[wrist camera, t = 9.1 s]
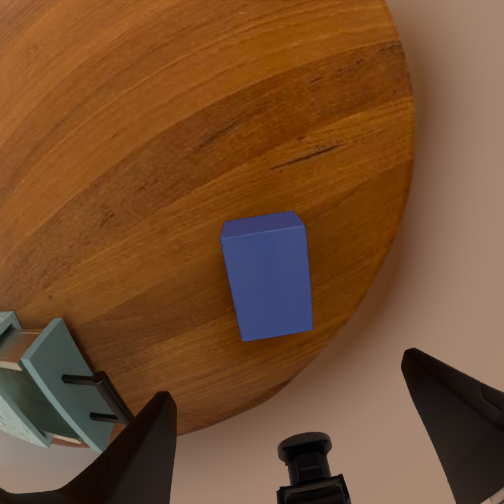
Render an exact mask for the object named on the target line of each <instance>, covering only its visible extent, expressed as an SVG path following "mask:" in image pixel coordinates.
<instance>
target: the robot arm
mask: <svg viewBox="0 0 504 504" xmlns="http://www.w3.org/2000/svg"><path fill="white" fill-rule="evenodd" d="M401 370H402V372H403V375H404V378H405V381H406V383H407V386H408V389H409V392H410V395H411V398H412V400H413V402H414V405H415V407H416V409H417V411H418V413H419V415H420V417H421V419H422V421H423V424H424V426H425V428H426V430H427V432H428V435H429V437H430V439H431V441H432V443H433V446H434V448H435V450H436V453H437V455H438V457H439V460H440V462H441V465H442V467H443V469H444V472H445V475H446V477H447V480H448V483H449V485H450V488H451V490H452V493H453V496H454V499H455V501H456V504H481V503H482V502H484V501H485V500H487V499H488V498H489V499H490V501H491V503H492V504H504V392H502V391H499V390H497V389H494V388H492V387H490V386H488V385H486V384H484V383H482V382H480V381H478V380H476V379H474V378H472V377H470V376H468V375H467V374H465V373H463V372H460V371H459V370H457V369H455V368H453V367H451V366H449V365H447V364H445V363H443V362H441V361H439V360H437V359H436V358H434V357H432V356H430V355H428V354H426V353H424V352H422V351H420V350H418V349H416V348H410V349H407V350H405V352H404V355H403V359H402V363H401ZM176 433H177V407H176V404H175V402H174V400H173V398H172V396H171V394H170V393H169V392H168V391H159V392H157V393H156V394H155V395H154V397H153V398H152V399H151V400H150V401H149V402H148V403H147V404H146V406H145V407H144V408H143V409H142V410H141V411H140V412H139V413H138V414H137V415H136V417H135V418H134V419H133V420H132V421H131V422H130V423H129V424H128V425H127V426H126V428H125V429H124V430H123V431H122V432H121V433H120V434H119V435H118V436H117V437H116V438H115V440H114V441H113V442H112V443H111V444H110V445H109V446H108V447H107V448H106V450H104V451H103V452H102V453H101V455H100V456H99V457H98V458H97V459H96V460H95V461H94V462H93V463H92V464H90V465H89V466H88V467H87V468H86V469H85V470H84V471H82V472H81V473H80V474H79V475H78V476H76V477H75V478H74V479H73V480H72V481H70V482H69V483H68V484H67V485H65V486H63V487H62V488H60V489H57V490H53V491H45V492H36V493H22V494H14V493H9V492H6V491H5V490H3V489H2V488H0V504H169V501H170V492H171V482H172V474H173V465H174V458H175V450H176ZM282 451H283V456H284V461H285V466H288V471H289V478H290V485H291V486H285V487H284V486H282V487H280V489H279V490H278V491H277V504H351V500H350V496H349V493H348V490H347V487H346V484H345V481H344V478H343V475H342V474H339V475H338V476H333V477H331V473H330V469H329V464H328V461H327V452H328V440H327V439H325V440H320V441H315V442H310V443H305V444H300V445H294V446H288V447H284V448H282Z"/></svg>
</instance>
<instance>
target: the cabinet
mask: <svg viewBox="0 0 504 504" xmlns="http://www.w3.org/2000/svg"><path fill="white" fill-rule="evenodd" d="M6 329H22V327H21V325H20V323H19V321H18V319H17V317H16V315H15V313H14V311H8V312H0V335H1V334H2V333H3V332H4V331H5V330H6ZM0 429H1V430H2V431H5V432H7V433H9V434H11V435H14V436H16V437H18V438H21V439H23V440H26V441H28V442H31V443H34V444H36V445H39V446H42V447H44V448H47V449H49V447H50V445H51V443H52V441H53V438H54V437H52V436H48V435H45V434H42V433H40V432H39V431H38V430H37V429H36V428H35V427H34V425H33V424H32V423H31V422H30V421H29V420H28V419H27V418H26V416H25V415H24V414H23V413H22V412H21V410H20V409H19V408H18V407H17V406H16V404H15V403H14V402H13V401H12V399H11V398H10V397H9V395H8V394H7V393H6V391H5V390H4V389H3V387H2V386H1V384H0Z"/></svg>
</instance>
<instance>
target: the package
mask: <svg viewBox="0 0 504 504" xmlns="http://www.w3.org/2000/svg"><path fill="white" fill-rule="evenodd" d="M220 241H221V246H222V251H223V256H224V260H225V265H226V270H227V275H228V279H229V284H230V289H231V293H232V298H233V302H234V307H235V311H236V316H237V320H238V325H239V329H240V333H241V338H242V341H251V340H258V339H265V338H271V337H277V336H283V335H289V334H294V333H300V332H305V331H310V330H313V317H312V300H311V285H310V272H309V260H308V248H307V238H306V228H305V225H304V223H303V222H302V221H301V220H300V219H299V217H298V216H297V215H296V214H295V213H294V211H289V212H282V213H275V214H269V215H263V216H256V217H250V218H244V219H238V220H232V221H226V222H224V225H223V229H222V234H221V238H220Z"/></svg>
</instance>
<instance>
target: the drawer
mask: <svg viewBox="0 0 504 504" xmlns="http://www.w3.org/2000/svg"><path fill="white" fill-rule="evenodd" d="M0 384H1V386H2V387H3V389H4V390H5V391H6V393H7V394H8V395H9V397H10V398H11V399H12V401H13V402H14V403H15V404H16V406H17V407H18V408H19V409H20V410H21V412H22V413H23V414H24V415H25V416H26V418H27V419H28V420H29V421H30V422H31V423H32V424H33V425H34V427H35V428H36V429H37V430H38V431H39V432H40V433H42V434H45V435H48V436H52V437H55V438H59V439H62V440H66V441H70V442H74V443H78V444H82V441H83V440H84V441H85V442H86V443H87V444H88V445H89V446H90V447H91V448H92V449H93V450H94V451H95V452H97V453H102V452H103V451H104V450H106V448H107V445H108V442H109V439H110V436H111V433H112V430H113V427H114V424H115V423H120V424H123V426H124V427H125V428H126V426H127V425H128V424H129V423H130V422H131V421H132V420H133V419H134V418H135V417H134V415H133V414H132V412H131V411H130V410H129V408H128V407H127V405H126V404H125V402H124V401H123V399H122V398H121V396H120V395H119V393H118V392H117V390H116V389H115V387H114V385H113V384H112V382H111V381H110V379H109V377H108V376H107V374H106V373H105V372H103V371H100V372H97V373H95V374H94V375H93V374H92V372H91V370H90V369H89V367H88V365H87V364H86V362H85V360H84V359H83V357H82V355H81V353H80V351H79V350H78V348H77V346H76V344H75V342H74V340H73V339H72V337H71V335H70V333H69V331H68V329H67V327H66V325H65V323H64V321H63V319H62V318H54V319H53V320H52V321H51V322H50V323H49V324H48V325H47V327H46V328H45V329H6V330H5V331H4V332H3V333H2V334H1V335H0Z"/></svg>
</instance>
